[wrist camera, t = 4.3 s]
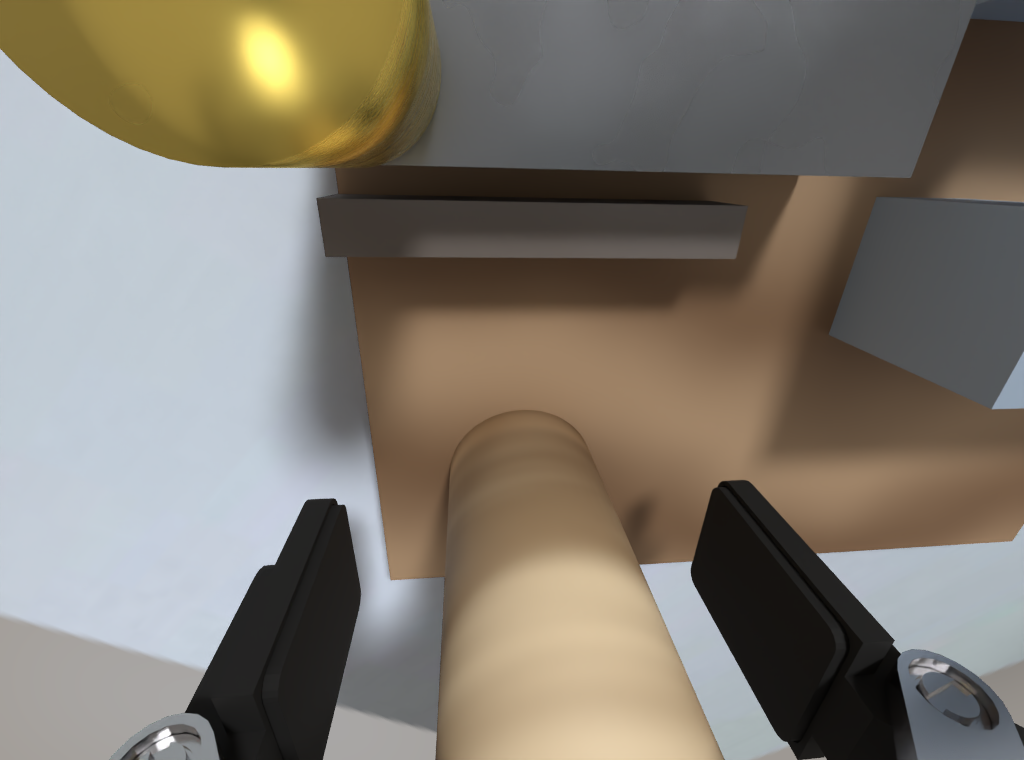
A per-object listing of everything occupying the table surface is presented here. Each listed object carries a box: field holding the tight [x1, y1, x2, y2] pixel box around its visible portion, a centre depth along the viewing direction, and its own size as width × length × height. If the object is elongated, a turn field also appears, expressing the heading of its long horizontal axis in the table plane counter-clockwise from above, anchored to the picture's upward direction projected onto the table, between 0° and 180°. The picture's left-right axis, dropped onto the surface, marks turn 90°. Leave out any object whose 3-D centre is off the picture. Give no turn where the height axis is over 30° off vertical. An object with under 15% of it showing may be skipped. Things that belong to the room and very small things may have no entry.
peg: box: [436, 410, 724, 760], centre depth 8 cm, size 4×4×10 cm
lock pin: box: [0, 0, 977, 178], centre depth 6 cm, size 3×10×6 cm, turn 89°
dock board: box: [317, 19, 1024, 580], centre depth 11 cm, size 18×22×3 cm
